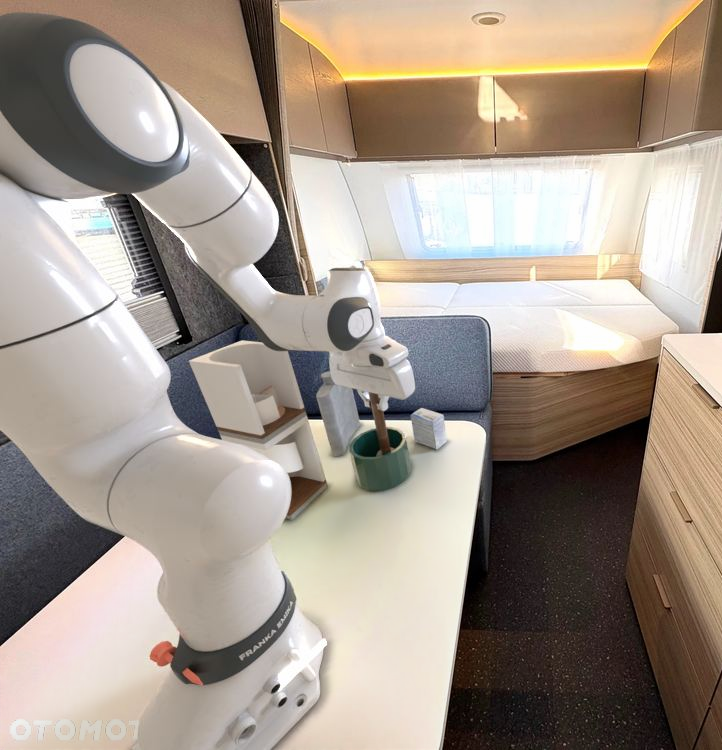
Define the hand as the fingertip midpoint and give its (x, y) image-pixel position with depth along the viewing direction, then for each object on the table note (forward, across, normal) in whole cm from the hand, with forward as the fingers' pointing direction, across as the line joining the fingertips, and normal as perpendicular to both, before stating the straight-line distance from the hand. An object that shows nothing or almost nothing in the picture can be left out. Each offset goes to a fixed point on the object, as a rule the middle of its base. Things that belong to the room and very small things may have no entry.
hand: (377, 407), depth 83 cm
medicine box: (+19, +1, +15) cm, 24 cm away
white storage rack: (+19, -16, -15) cm, 29 cm away
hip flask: (+19, -22, +7) cm, 30 cm away
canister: (+19, -2, 0) cm, 19 cm away
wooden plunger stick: (+17, 0, 0) cm, 17 cm away
